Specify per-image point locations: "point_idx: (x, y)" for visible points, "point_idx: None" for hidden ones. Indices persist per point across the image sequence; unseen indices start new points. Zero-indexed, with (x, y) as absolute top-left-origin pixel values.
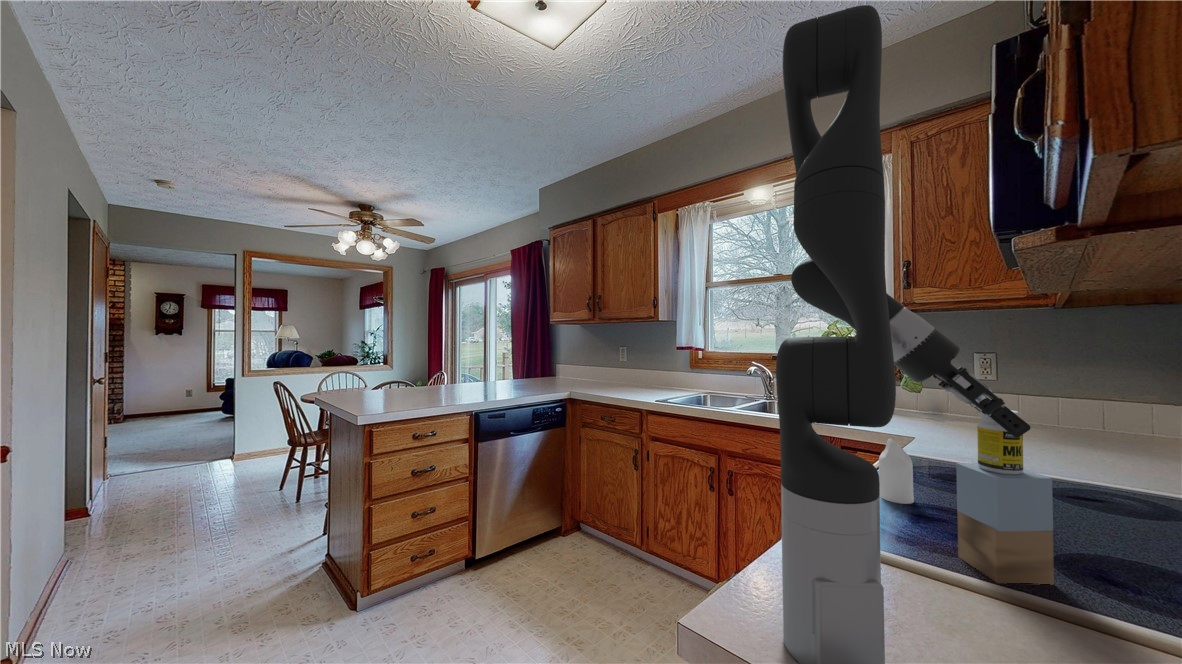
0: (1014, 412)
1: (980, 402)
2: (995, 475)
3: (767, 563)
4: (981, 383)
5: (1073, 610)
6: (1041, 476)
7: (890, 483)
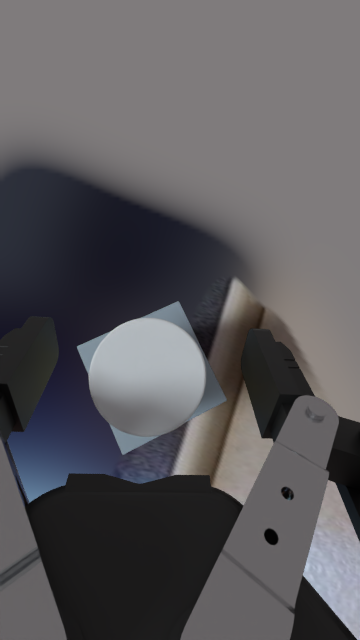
0: (190, 339)
1: (8, 410)
2: (202, 397)
3: None
4: (312, 517)
5: (225, 337)
6: (172, 314)
7: None
